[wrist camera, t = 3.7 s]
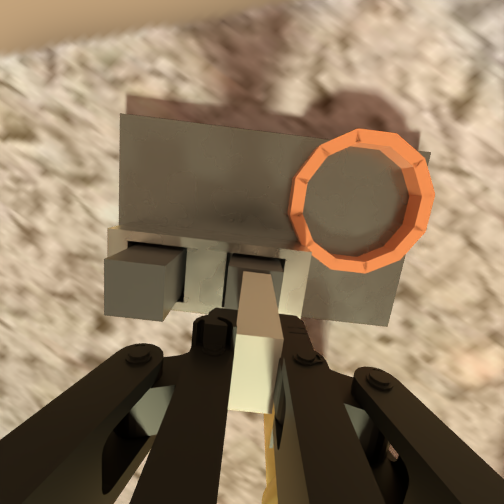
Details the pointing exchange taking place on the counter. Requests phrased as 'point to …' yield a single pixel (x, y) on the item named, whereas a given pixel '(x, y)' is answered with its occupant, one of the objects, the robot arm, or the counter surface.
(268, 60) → the counter surface
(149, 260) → the block
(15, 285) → the counter surface
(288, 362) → the robot arm
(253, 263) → the block
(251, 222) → the breaker panel
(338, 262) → the orange ring
